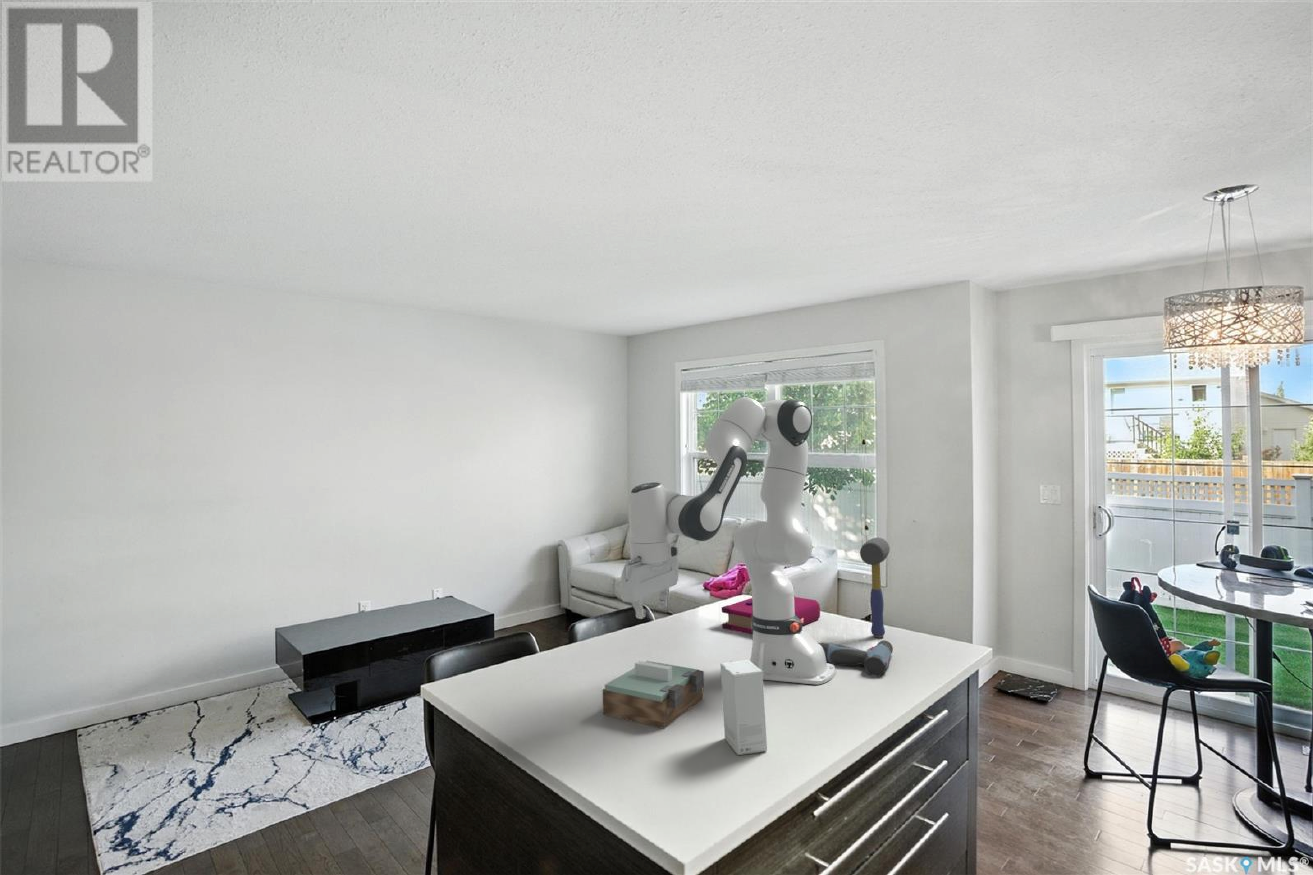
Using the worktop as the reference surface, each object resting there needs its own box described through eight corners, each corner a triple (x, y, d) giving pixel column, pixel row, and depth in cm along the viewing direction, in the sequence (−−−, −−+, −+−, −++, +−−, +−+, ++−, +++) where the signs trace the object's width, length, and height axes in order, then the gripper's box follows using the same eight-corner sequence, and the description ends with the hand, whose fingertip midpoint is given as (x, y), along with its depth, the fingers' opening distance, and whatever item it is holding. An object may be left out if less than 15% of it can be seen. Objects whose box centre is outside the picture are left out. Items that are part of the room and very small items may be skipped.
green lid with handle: (699, 674, 151) (699, 658, 152) (661, 701, 136) (660, 683, 136) (647, 665, 159) (646, 649, 159) (605, 690, 144) (604, 672, 144)
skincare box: (767, 752, 124) (765, 671, 124) (735, 756, 122) (732, 675, 123) (752, 733, 132) (749, 658, 132) (721, 737, 130) (719, 661, 131)
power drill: (825, 647, 187) (897, 656, 178) (808, 667, 171) (886, 679, 161) (824, 629, 187) (896, 637, 178) (807, 647, 171) (885, 657, 161)
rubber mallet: (887, 644, 187) (883, 542, 188) (861, 641, 191) (857, 541, 192) (894, 632, 198) (890, 536, 199) (869, 630, 202) (866, 535, 203)
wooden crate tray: (708, 699, 150) (707, 668, 150) (670, 730, 135) (669, 694, 135) (645, 687, 159) (644, 657, 159) (603, 714, 144) (602, 680, 144)
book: (820, 621, 216) (819, 598, 216) (774, 641, 195) (773, 616, 196) (768, 611, 230) (767, 590, 230) (720, 629, 210) (719, 606, 210)
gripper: (636, 562, 137) (639, 626, 137) (682, 546, 155) (684, 603, 155) (612, 560, 141) (615, 623, 141) (659, 545, 158) (662, 601, 158)
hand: (651, 612), depth 148 cm, fingers open, 8 cm apart
